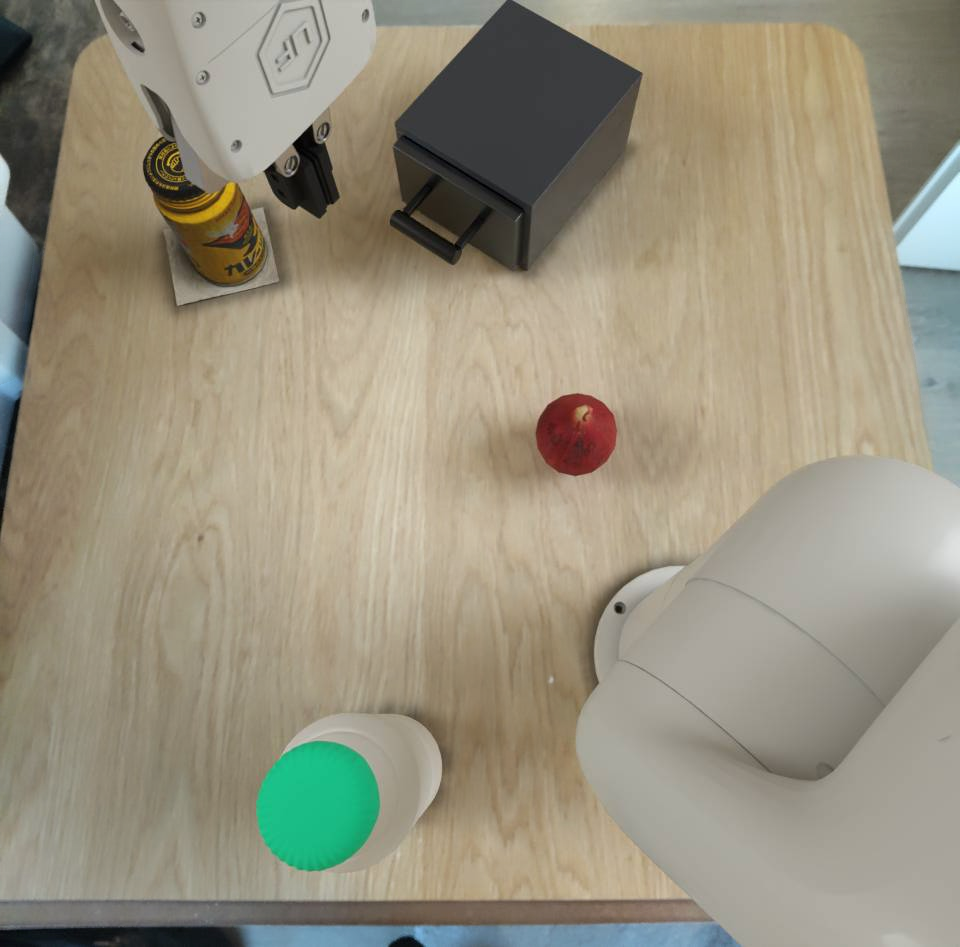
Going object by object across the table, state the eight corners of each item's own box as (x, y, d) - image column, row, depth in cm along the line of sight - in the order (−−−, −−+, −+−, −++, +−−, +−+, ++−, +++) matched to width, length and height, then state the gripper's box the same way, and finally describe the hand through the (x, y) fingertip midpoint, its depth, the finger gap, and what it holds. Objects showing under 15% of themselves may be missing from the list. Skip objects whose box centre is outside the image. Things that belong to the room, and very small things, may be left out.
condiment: (280, 282, 66) (235, 190, 54) (177, 306, 65) (110, 219, 54) (263, 208, 68) (217, 104, 56) (164, 231, 67) (97, 131, 56)
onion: (602, 494, 60) (618, 461, 52) (527, 479, 60) (532, 444, 53) (614, 422, 62) (631, 380, 54) (540, 409, 62) (547, 365, 54)
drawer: (481, 310, 64) (480, 264, 57) (369, 237, 66) (356, 185, 59) (606, 157, 68) (618, 98, 61) (497, 93, 70) (497, 29, 63)
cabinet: (527, 271, 66) (532, 207, 57) (406, 194, 68) (394, 122, 60) (625, 149, 69) (643, 72, 61) (506, 80, 71) (508, -3, 63)
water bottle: (318, 771, 55) (181, 812, 31) (390, 692, 56) (314, 673, 32) (392, 848, 53) (308, 955, 29) (464, 764, 55) (442, 801, 31)
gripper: (87, 29, 23) (269, 334, 40) (409, -261, 26) (449, 135, 44) (-84, -79, 25) (162, 259, 42) (241, -340, 28) (344, 73, 45)
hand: (308, 195), depth 43 cm, fingers closed
